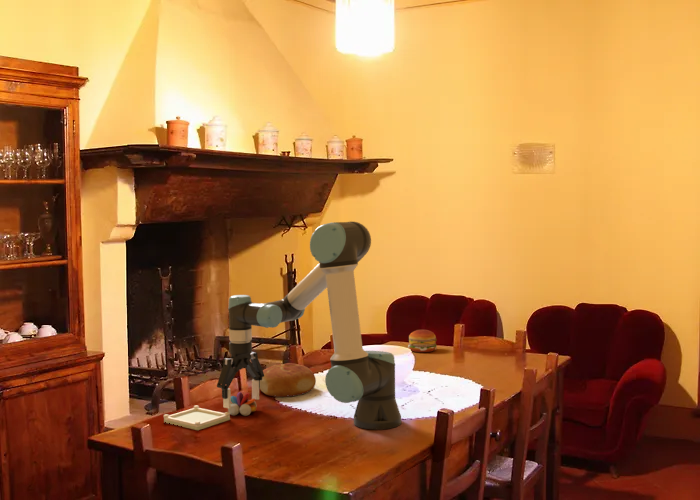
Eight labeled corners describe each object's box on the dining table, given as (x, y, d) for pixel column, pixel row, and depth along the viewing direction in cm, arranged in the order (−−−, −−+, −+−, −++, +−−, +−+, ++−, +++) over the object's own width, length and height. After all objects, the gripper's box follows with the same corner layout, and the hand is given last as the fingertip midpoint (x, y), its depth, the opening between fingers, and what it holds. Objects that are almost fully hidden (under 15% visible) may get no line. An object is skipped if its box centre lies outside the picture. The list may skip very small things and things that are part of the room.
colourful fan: (252, 417, 258) (251, 395, 257) (224, 416, 260) (223, 395, 259) (260, 410, 266) (259, 389, 266) (233, 409, 268) (232, 388, 268)
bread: (243, 396, 286) (242, 369, 285) (273, 382, 308) (272, 357, 307) (299, 401, 277) (298, 373, 277) (326, 386, 299) (325, 360, 298)
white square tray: (231, 419, 255) (230, 412, 255) (197, 430, 244) (197, 423, 244) (196, 412, 265) (196, 405, 265) (162, 422, 254) (162, 415, 253)
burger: (406, 353, 358) (406, 332, 357) (409, 347, 371) (409, 327, 371) (436, 354, 356) (435, 332, 355) (437, 348, 369) (437, 327, 369)
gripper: (258, 334, 273) (258, 393, 275) (205, 346, 254) (206, 409, 255) (273, 336, 269) (274, 396, 271) (221, 348, 249) (222, 413, 251)
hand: (241, 403), depth 263 cm, fingers open, 13 cm apart
